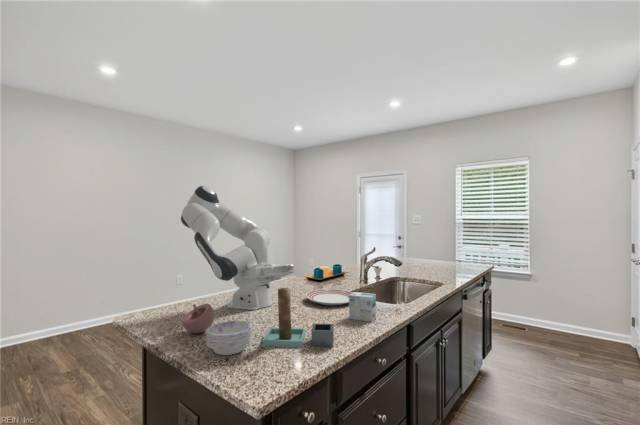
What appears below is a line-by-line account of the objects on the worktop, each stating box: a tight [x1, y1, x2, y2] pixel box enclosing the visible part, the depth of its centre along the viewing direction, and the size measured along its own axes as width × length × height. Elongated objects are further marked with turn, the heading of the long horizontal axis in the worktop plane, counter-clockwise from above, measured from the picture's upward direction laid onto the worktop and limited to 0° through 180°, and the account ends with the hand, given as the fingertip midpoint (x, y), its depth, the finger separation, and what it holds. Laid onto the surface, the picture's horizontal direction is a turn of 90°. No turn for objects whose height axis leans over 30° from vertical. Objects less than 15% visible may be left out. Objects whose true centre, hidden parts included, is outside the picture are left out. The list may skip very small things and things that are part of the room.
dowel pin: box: [277, 287, 292, 340], centre depth 116 cm, size 4×4×18 cm
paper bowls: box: [205, 320, 253, 356], centre depth 109 cm, size 15×15×8 cm
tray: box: [261, 327, 307, 348], centre depth 116 cm, size 14×12×2 cm
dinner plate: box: [305, 288, 353, 307], centre depth 168 cm, size 27×27×3 cm
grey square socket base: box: [310, 322, 335, 348], centre depth 113 cm, size 8×8×6 cm
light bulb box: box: [348, 291, 377, 323], centre depth 139 cm, size 11×7×11 cm, turn 65°
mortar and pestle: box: [181, 303, 215, 334], centre depth 125 cm, size 12×12×12 cm
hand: (283, 268), depth 119 cm, fingers open, 8 cm apart
